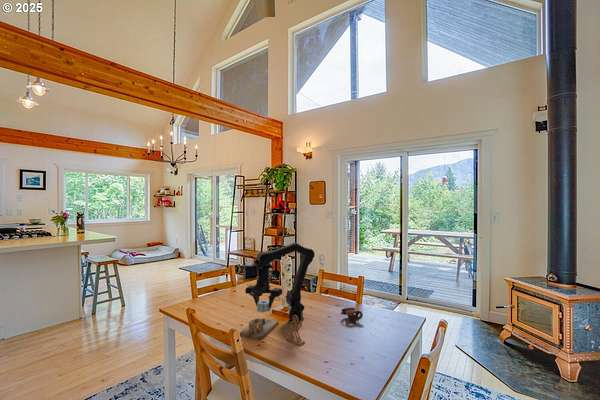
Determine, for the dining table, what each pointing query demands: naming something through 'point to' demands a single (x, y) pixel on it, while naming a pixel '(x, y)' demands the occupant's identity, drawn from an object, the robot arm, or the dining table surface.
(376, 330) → the dining table surface
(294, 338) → the gingerbread man figurine
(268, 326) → the gear board
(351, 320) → the pottery mug
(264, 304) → the loose gear
